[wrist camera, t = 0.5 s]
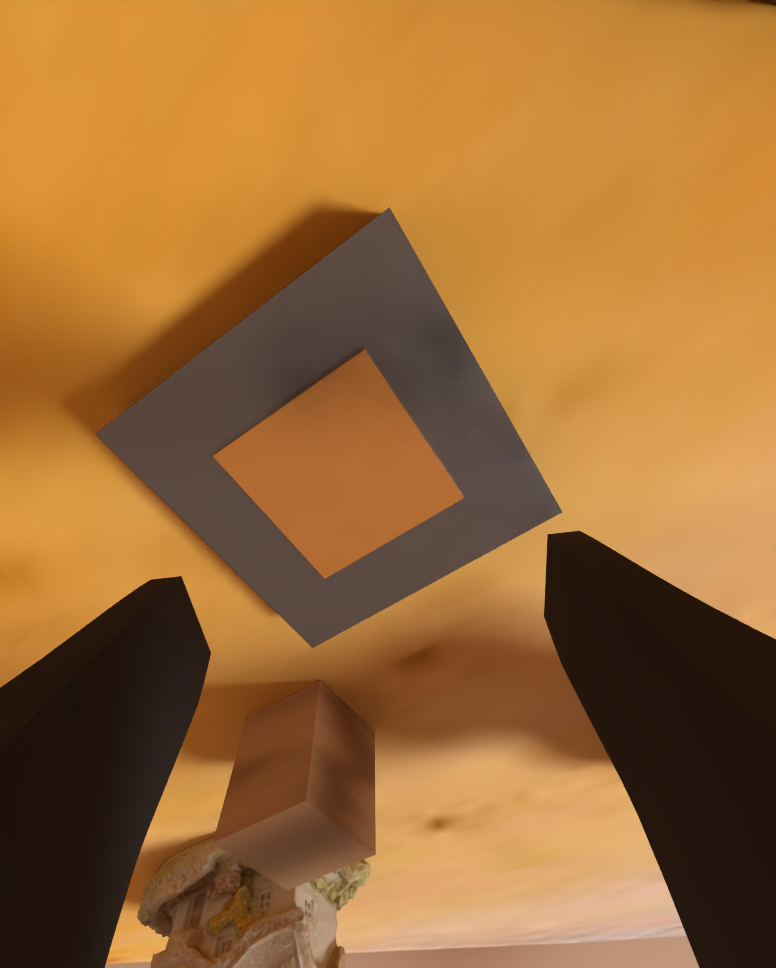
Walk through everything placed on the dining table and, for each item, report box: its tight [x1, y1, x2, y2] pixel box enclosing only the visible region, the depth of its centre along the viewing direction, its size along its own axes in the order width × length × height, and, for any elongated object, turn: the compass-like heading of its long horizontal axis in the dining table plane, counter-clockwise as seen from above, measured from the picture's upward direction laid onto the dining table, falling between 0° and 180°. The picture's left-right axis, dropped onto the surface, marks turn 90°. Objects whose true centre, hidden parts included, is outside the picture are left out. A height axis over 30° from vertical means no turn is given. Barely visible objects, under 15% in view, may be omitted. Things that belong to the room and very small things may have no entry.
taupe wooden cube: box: [213, 680, 376, 890], centre depth 22 cm, size 5×5×6 cm
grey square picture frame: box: [96, 207, 562, 648], centre depth 17 cm, size 12×12×2 cm
